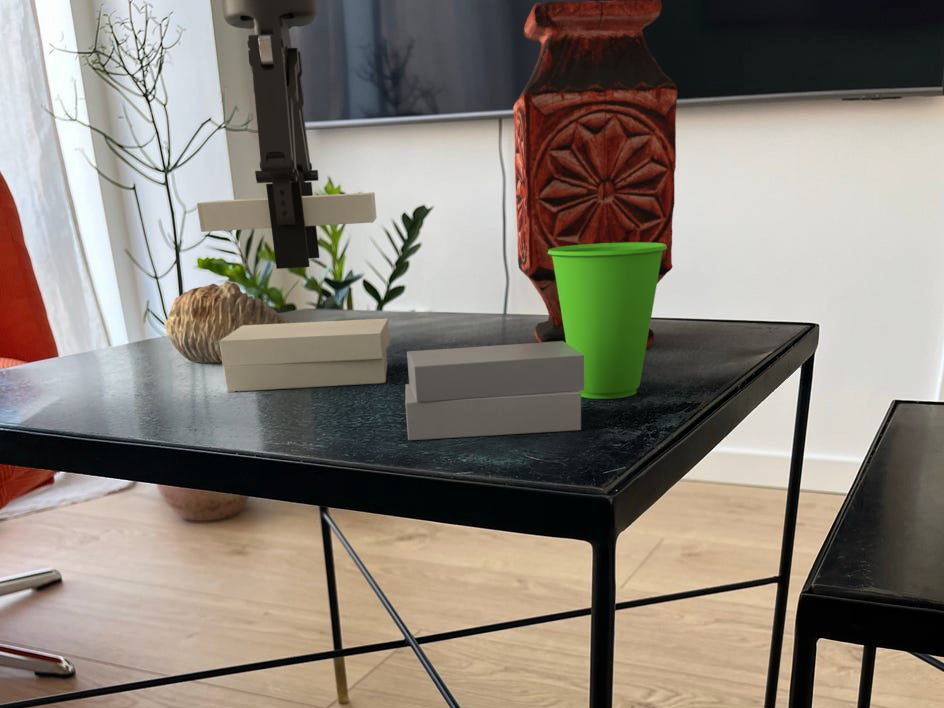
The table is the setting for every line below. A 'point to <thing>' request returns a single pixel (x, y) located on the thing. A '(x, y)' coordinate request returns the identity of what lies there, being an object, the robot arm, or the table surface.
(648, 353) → the table surface
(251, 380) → the white pile
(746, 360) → the table surface
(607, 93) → the vase
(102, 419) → the table surface
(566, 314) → the cup
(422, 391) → the grey books
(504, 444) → the table surface
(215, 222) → the white book
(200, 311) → the seashell
